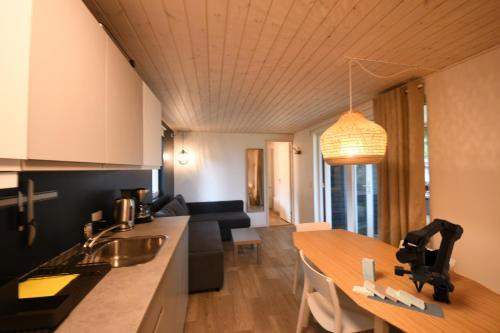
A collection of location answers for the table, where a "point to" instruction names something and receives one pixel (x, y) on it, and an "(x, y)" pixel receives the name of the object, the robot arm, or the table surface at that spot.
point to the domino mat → (413, 306)
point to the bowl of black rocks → (431, 258)
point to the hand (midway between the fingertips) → (418, 292)
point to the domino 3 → (383, 291)
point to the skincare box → (368, 269)
